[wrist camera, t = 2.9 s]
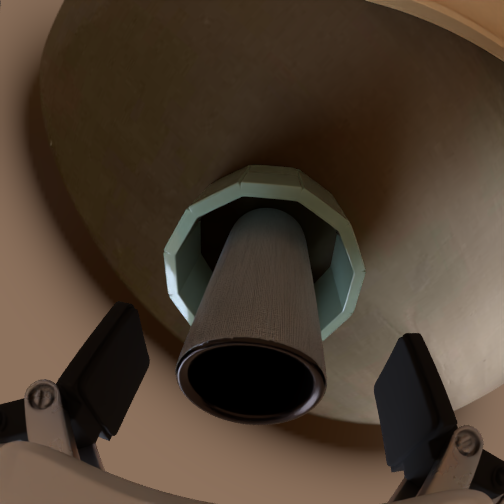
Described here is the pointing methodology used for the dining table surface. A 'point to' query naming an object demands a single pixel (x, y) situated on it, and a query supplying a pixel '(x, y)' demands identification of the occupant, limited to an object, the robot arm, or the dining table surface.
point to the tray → (461, 19)
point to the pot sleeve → (274, 187)
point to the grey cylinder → (257, 328)
